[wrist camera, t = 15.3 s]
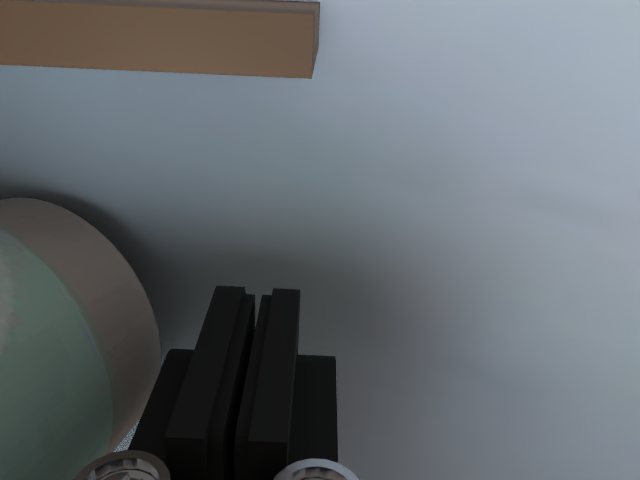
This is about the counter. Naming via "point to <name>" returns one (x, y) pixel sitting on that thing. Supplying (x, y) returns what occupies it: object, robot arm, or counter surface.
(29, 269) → the coffee cup
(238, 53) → the brown wooden u-shaped frame
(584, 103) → the counter surface
